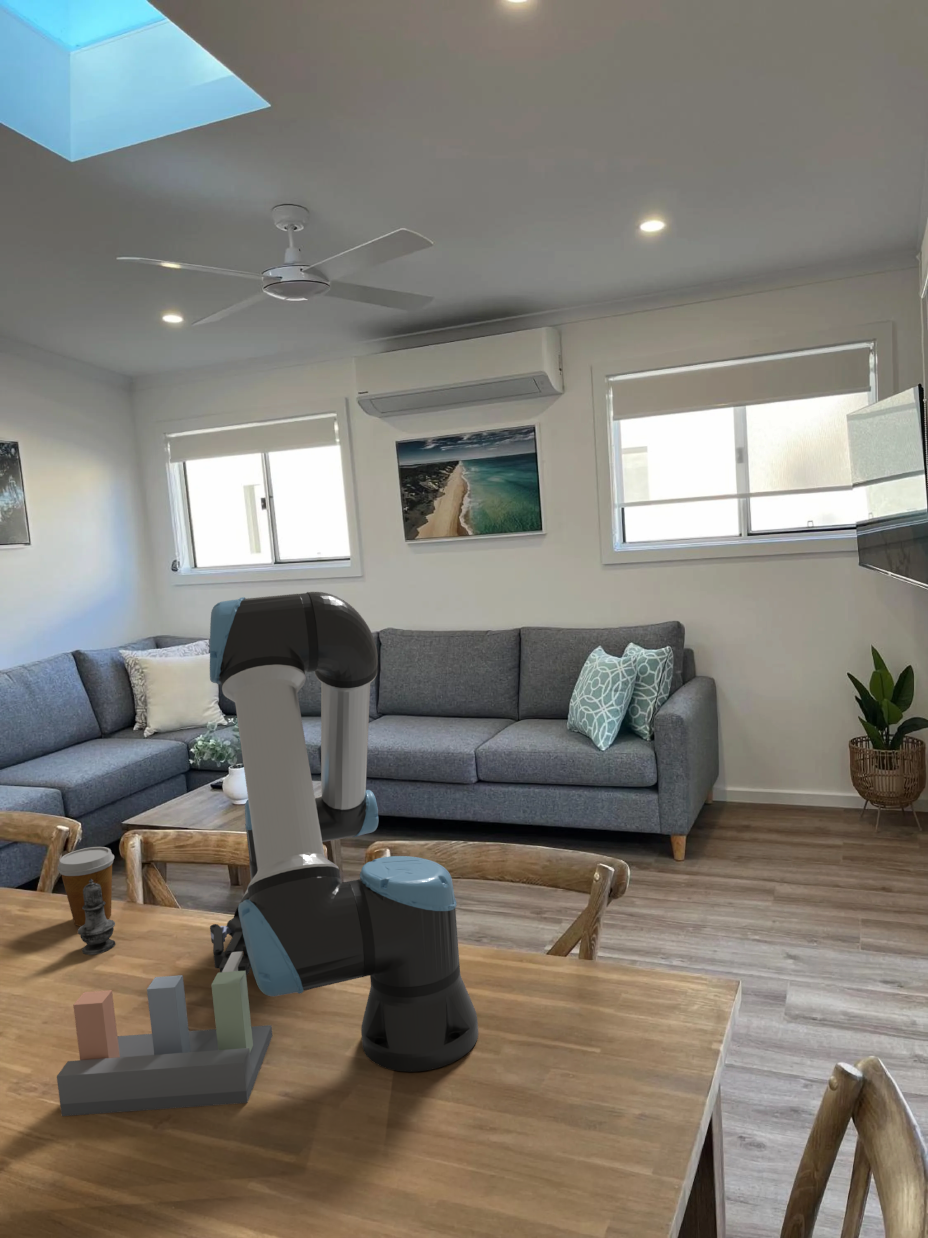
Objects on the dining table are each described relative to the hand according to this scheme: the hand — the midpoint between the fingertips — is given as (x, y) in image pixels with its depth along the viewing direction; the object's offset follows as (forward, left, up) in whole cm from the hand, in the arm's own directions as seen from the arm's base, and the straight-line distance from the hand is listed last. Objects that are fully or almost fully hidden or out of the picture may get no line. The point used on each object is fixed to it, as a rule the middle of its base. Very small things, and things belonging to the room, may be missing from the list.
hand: (226, 984), depth 117 cm
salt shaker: (+31, -31, -8) cm, 45 cm away
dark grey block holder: (+6, +7, -8) cm, 12 cm away
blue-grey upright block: (+6, +6, -6) cm, 10 cm away
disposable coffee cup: (+37, -43, -8) cm, 57 cm away
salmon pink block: (+14, +9, -6) cm, 17 cm away
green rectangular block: (-2, +6, -6) cm, 9 cm away
